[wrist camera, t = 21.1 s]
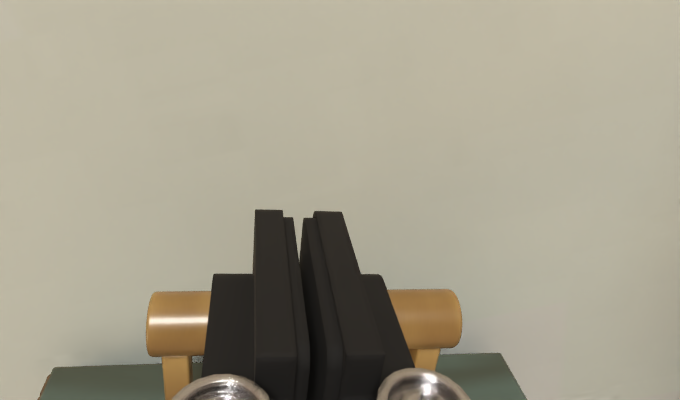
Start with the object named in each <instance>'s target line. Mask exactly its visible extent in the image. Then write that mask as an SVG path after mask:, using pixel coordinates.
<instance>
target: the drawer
mask: <svg viewBox="0 0 680 400" xmlns="http://www.w3.org/2000/svg"><path fill="white" fill-rule="evenodd" d="M387 291H388V294H389V297H390V299H391V302H392V305H393V307H394V310H395V313H396V316H397V318H398V321H399V324H400V327H401V329H402V332H403V335H404V338H405V340H406V343H407V346H408V349H409V351H410V354H411V357H412V360H413V362H414V365H415V368H423V369H428V370H432V371H436V372H438V373H440V374H442V375H444V376H447V377H449V378H450V379H451V380H452V381H454V382H455V383H456V384H458V385H459V386H460V387H461V388H462V389H463V390H464V392H465V393H466V394H467V395H468V396H469V398H470V399H471V400H527V399H526V397H525V395H524V393H523V392H522V390H521V388H520V386H519V385H518V383H517V381H516V379H515V378H514V376H513V374H512V372H511V371H510V369H509V367H508V365H507V364H506V362H505V360H504V358H503V357H502V355H501V354H500V353H482V354H451V355H439V353H440V348H453V347H455V346H456V345H457V344H458V343H459V340H460V337H461V332H462V314H461V308H460V304H459V301H458V298H457V296H456V295H455V293H454V292H453V291H451V290H449V289H406V290H387ZM210 298H211V291H174V292H155V293H153V294H152V297H151V299H150V302H149V307H148V313H147V322H146V345H147V351H148V354H149V356H152V357H162V364H144V365H113V366H82V367H55V368H53V370H52V372H51V375H50V377H49V379H48V381H47V384H46V386H45V388H44V390H43V392H42V395H41V397H40V399H39V400H172V398H173V397H174V396H175V395H176V394H177V393H178V392H179V391H180V390H181V389H182V388H183V387H185V386H186V385H188V384H190V383H192V382H194V381H195V380H197V379H200V378H201V375H202V366H203V363H192V356H200V355H204V349H205V341H206V332H207V323H208V315H209V306H210Z"/></svg>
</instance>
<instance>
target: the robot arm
mask: <svg viewBox="0 0 680 400" xmlns="http://www.w3.org/2000/svg"><path fill="white" fill-rule="evenodd" d="M172 400H471V399H470V398H469V396H468V395H467V394H466V393H465V392H464V390H463V389H462V388H461V387H460V386H459V385H458V384H456V383H455V382H454V381H452V380H451V379H450V378H449V377H447V376H444V375H442V374H440V373H438V372H436V371H432V370H428V369H423V368H415V365H414V362H413V360H412V357H411V354H410V351H409V349H408V346H407V343H406V340H405V338H404V335H403V332H402V329H401V327H400V324H399V321H398V318H397V316H396V313H395V310H394V307H393V305H392V302H391V299H390V297H389V294H388V291H387V288H386V286H385V283H384V280H383V278H382V276H380V275H379V274H361V273H360V270H359V267H358V263H357V260H356V257H355V253H354V250H353V247H352V244H351V240H350V237H349V234H348V231H347V227H346V224H345V221H344V218H343V214H342V212H328V211H314V214H313V218H304V220H303V227H302V238H301V250H300V261H299V259H298V251H297V244H296V236H295V229H294V221H293V217H283V210H255V226H254V252H253V274H214V275H213V281H212V289H211V298H210V306H209V315H208V323H207V332H206V341H205V349H204V358H203V366H202V375H201V378H200V379H197V380H195V381H194V382H192V383H190V384H188V385H186V386H185V387H183V388H182V389H181V390H180V391H179V392H178V393H177V394H176V395H175V396H174V397H173V398H172Z"/></svg>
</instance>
